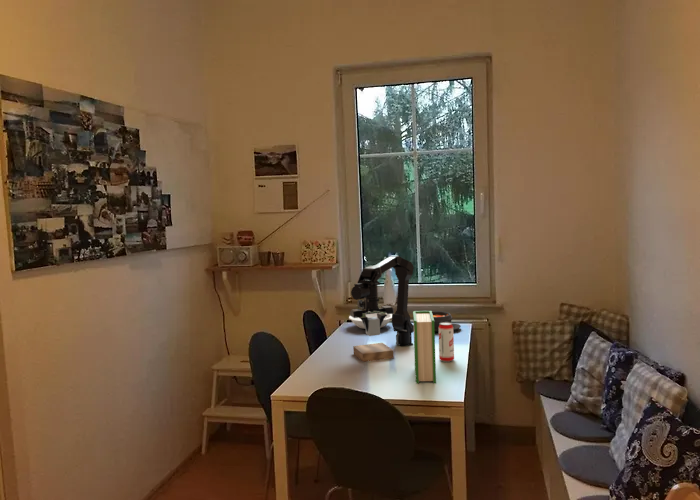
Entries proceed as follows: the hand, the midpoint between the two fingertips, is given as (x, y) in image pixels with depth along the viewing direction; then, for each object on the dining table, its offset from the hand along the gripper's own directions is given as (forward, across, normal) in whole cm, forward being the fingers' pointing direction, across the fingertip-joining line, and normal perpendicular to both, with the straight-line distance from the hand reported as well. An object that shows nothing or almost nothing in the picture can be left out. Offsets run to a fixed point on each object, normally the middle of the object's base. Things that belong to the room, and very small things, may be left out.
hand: (372, 330), depth 252 cm
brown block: (+12, 0, 0) cm, 12 cm away
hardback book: (+12, -9, +35) cm, 38 cm away
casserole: (+12, -46, -31) cm, 57 cm away
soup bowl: (+12, -17, -50) cm, 55 cm away
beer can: (+12, -26, +20) cm, 35 cm away
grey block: (+2, 0, 0) cm, 2 cm away
